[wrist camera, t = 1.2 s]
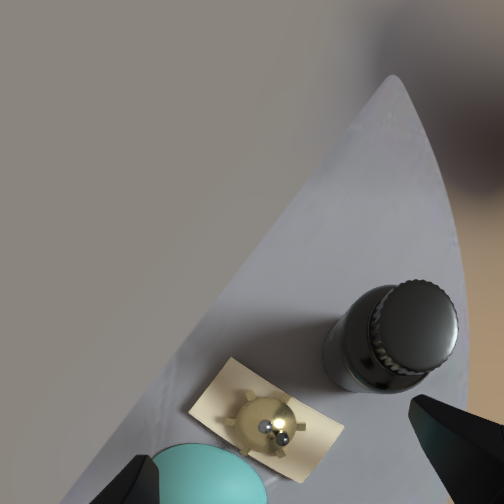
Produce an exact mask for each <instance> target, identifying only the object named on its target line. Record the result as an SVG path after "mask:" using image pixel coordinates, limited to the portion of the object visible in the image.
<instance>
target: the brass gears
mask: <svg viewBox="0 0 504 504" xmlns="http://www.w3.org/2000/svg"><path fill="white" fill-rule="evenodd" d="M245 395H246V397H247V399H248V401H249V402H248V403H246V404H245V405H244V406H243V407H242V408H241V409H240V410H239V412H238V414H237V416H236V418H233V417H227V418H226V423H225V425H226V426H235V431H236V435H237V437H238V439H239V440H240V441H241V443H242V444H243V445H244V446H243V448H242V449H241V450H240V452H239V453H241V454H243V455H244V456H247V454H248V453H249V452H250V451H251V450H253V451H256V452H260V453H271V452H275V453H276V455H277V456H278V458H279V459H280V458H282V457H285V456H286V452H285V451H284V449H283V448H284V447H285V446H286V445H288V444H289V442H290V441H291V440H292V439H293V437H294V435H295V432H296V431H305V430H306V423H305V422H296V418H295V415H294V413H293V411H292V410H291V408H290V407H289V406H288V405H287V403H288V401H289V400H290V398H291V397H292V396H290V395H289V394H287V393H284V394H283V396H282V397H281V398H280V400H279V399H277V398H273V397H260V398H257V397H256V395H255V393H254V391H253V390H252V391H250V392H247V393H245Z"/></svg>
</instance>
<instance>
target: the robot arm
mask: <svg viewBox="0 0 504 504" xmlns="http://www.w3.org/2000/svg"><path fill="white" fill-rule="evenodd" d="M408 417H409V420H410V422H411V424H412V426H413V429H414V431H415V433H416V435H417V438H418V440H419V442H420V444H421V447H422V449H423V451H424V453H425V454H426V456H427V458H428V459H429V461H430V463H431V464H432V466H433V468H434V469H435V471H436V473H437V474H438V476H439V478H440V479H441V481H442V483H443V484H444V486H445V488H446V490H447V491H448V493H449V495H450V496H451V498H452V500H453V501H454V504H504V425H500V424H498V423H495V422H492V421H490V420H487V419H484V418H482V417H479V416H476V415H473V414H471V413H468V412H466V411H463V410H460V409H458V408H455V407H453V406H450V405H448V404H445V403H443V402H440V401H438V400H436V399H433V398H431V397H428V396H426V395H423V394H420V395H418V396H416V397H414V398H412V399H411V402H410V407H409V412H408ZM89 504H160V488H159V469H158V467H157V465H156V464H155V463H154V462H153V460H152V459H151V458H150V456H148V455H141V454H139V455H136V456H135V457H134V458H133V459H132V460H131V461H130V462H129V463H128V464H127V465H126V466H125V467H124V469H123V470H122V471H121V472H120V473H119V474H118V475H117V476H116V477H115V478H114V479H113V480H112V481H111V482H110V483H109V484H108V485H107V486H106V487H105V488H104V489H103V490H102V491H101V492H100V493H99V494H98V495H97V496H96V497H95V498H94V499H93V500H92V501H91V502H90V503H89Z"/></svg>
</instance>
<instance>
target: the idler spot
mask: <svg viewBox="0 0 504 504" xmlns="http://www.w3.org/2000/svg"><path fill="white" fill-rule="evenodd" d="M153 462H154V463H155V464H156V465H157V467H158V469H159V488H160V504H267V497H266V491H265V488H264V485H263V483H262V481H261V479H260V477H259V476H258V474H257V473H256V472H255V471H254V470H253V468H252V467H251V466H249V465H248V464H247V463H246V462H245V461H244V460H242V459H241V458H239V457H238V456H236V455H234V454H232V453H231V452H228V451H226V450H224V449H221V448H218V447H214V446H210V445H204V444H183V445H178V446H174V447H172V448H169V449H167V450H165V451H163V452H161V453H160V454H158V455H157V456H156V457H155V458H154V459H153Z"/></svg>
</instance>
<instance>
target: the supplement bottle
mask: <svg viewBox="0 0 504 504" xmlns="http://www.w3.org/2000/svg"><path fill="white" fill-rule="evenodd" d="M458 330H459V328H458V318H457V313H456V310H455V309H454V304H453V303H452V302H451V300H450V298H449V296H448V295H446V293H445V292H444V290H442V289H440V288H439V286H438V285H434V284H433V283H432V282H427V281H425V280H417V279H415V280H413V281H411V280H408V281H406V282H405V283H400V284H399V285H384V286H380V287H376V288H374V289H372V290H370V291H368V292H366V293H365V294H363V295H362V296H361V297H360V298H359V299H358V300H357V301H356V302H355V303H354V304H353V305H352V306H351V307H350V308H349V309H348V311H347V312H346V313H345V314H344V315H343V316H342V317H341V319H340V320H339V321H338V322H337V323H336V324H335V325H334V327H333V328H332V329H331V330H330V332H329V333H328V335H327V337H326V340H325V342H324V346H323V353H322V357H323V364H324V368H325V370H326V372H327V374H328V376H329V377H330V379H331V380H332V381H333V382H334V383H335V384H337V385H338V386H339V387H341V388H343V389H345V390H348V391H353V392H360V393H373V394H396V393H401V392H404V391H407V390H409V389H411V388H413V387H415V386H416V385H418V384H419V383H421V382H422V381H423V380H424V379H425V378H426V377H427V376H428V374H429V373H430V372H431V371H433V370H434V369H435V368H438V367H440V366H441V364H442V363H443V362H445V361H446V360H447V358H448V356H450V355H451V353H452V350H453V348H454V347H455V343H456V340H457V338H458V335H457V333H458Z"/></svg>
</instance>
